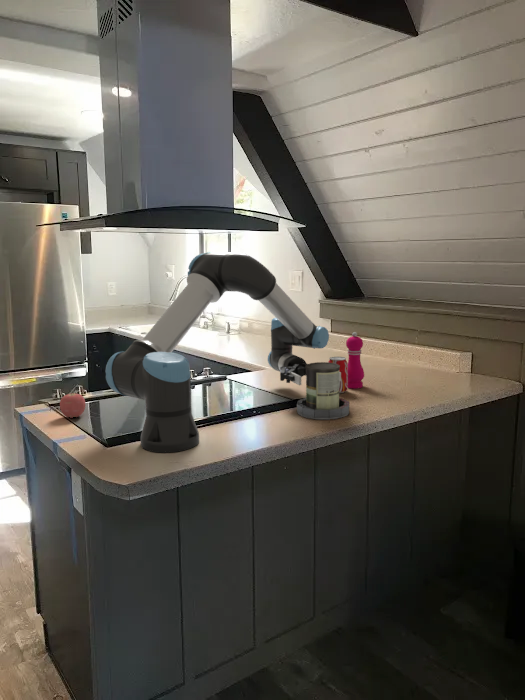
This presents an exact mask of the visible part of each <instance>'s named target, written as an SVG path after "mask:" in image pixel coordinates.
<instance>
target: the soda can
mask: <svg viewBox="0 0 525 700" xmlns="http://www.w3.org/2000/svg"><path fill="white" fill-rule="evenodd" d="M327 362H328V363H335V364H338V365H340V369H339V372H341V381H339V394H344V393H345V392H347V391H348V388H347V386H348V361H347V358H346V357H344V356H330V357H329V360H328V361H327Z"/></svg>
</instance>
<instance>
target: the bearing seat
mask: <svg viewBox="0 0 525 700" xmlns="http://www.w3.org/2000/svg"><path fill="white" fill-rule="evenodd" d="M296 413H297V415H299V416H301V417H303V418H305V419H310V420H315V421H316V420H319V421H331V420H330V419H333V420H338V418H340V419H343V418H345V416H346V417H347V416H349V414H350V401H349V400H347V399H345V398H341V397H339V408H331V409H316V408H311V407H306V397H304V398H301V399H298V400H297V403H296ZM342 417H343V418H342Z"/></svg>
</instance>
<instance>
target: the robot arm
mask: <svg viewBox="0 0 525 700" xmlns="http://www.w3.org/2000/svg"><path fill="white" fill-rule="evenodd" d="M187 270H188V271H187V277H186V283H187V285H186V286H185V287H184V289H182V290H181V292H180V293H179V295H178V296H176V298H175V299H174V301H172V303H171V304H170V305H169V307H168V308H167V309H166V310H165V311H164V313H163V314H162V315H161V316H160V317H159V319H158V320H157V321H156V322H155V324H154V325H153V326H152V327H151V328H150V329H149V331H148V332H147V333H146V335H145V336H144V337H143V338H142V339H138V340H136V339H135V340H134V341H133V342H132V343H131V344H130V345H129V347H128V348H127V349H126V350H125V351H123V350H121V351H118V352H115V353H114V354H112V356H110V358H109V359H108V361H107V363H106V365H105V381H106V383H107V385H108V387H110V389H111V390H112V391H113V392H115V393H117V394H119V395H122V396H124V397H131V398H135V399H139V400H144V401H145V419H144V423H143V427H142V430H141V434H140V447H141V448H142V449H143V450H146V451H149V452H154V453H175V452H181V451H185V450H186V451H187V450H189V449H191V448H194V447H196V446H197V445H198V444H199V443H200V433H199V430H198V427H197V425H196V422H195V419H194V416H193V414H192V388H191V387H192V385H191V384H192V382H191V379H192V378H191V374H192V373H191V370H190V361H189V360H188V358H187V357H185V356H184V355H183V354H179V353H176V352H173V351H174V350H175V349H176V347H177V346H178V345H179V343H180V342H181V341H182V340H183V338H184V337H185V335H186V334H187V333H188V332H189V330H190V329H191V328H192V327H193V325H195V323H196V322H197V320H198V319H199V318H200V317H201V316H202V314H203V312H204V311H205V310H206V308H207V307H208V306H209V304H211V303H214V304H215V303H217V302H219V301H220V298H221V297H222V296H223V295H224V294H225V292H238V293H243V294H245V295H247V296H249V297H250V299H252V300H254V301H258V302H260V303H261V305H262V306H264V307H265V308H266V309H267V310H268V311H269V313H271V314H272V315H273V316H274V318H272V319H271V324H270V327H271V328H270V337H271V338H270V340H271V341H270V345H271V348H270V349H271V350H270V352H269V353H268V355H267V363H268V365H269V366H270V367H271V368H272V369H273V370H275V371H278V372H279V374H280V375H279V377H280V378H279V379H280V382H281V381H282V382H283V381H286V384H290V383H291V382H292V383H294V384H296V385H298V386H302V378H303V377H304V376H305V377H306V365H307V364H308V363H307V362H306V360H305V359H304V358H302V357H300V356H298V355H296V354H293V347H294V346H295V347H302V348H311V349H324V348H325V347H326V346H327V345H328V343H329V340H330V339H329V338H330V334H329V330H328V329H327V328H326V327H325V326H320V325H316V324H315V323H314V322H313V321H312V320H311V318H309V317H308V316H307V315H306V313H305V312H303V310H302V309H301V308H300V306H298V305H297V303H295V302H294V301H293V300H292V298H291V297H290V296H289V295H288V294H287V293H286V292H285V291H284V290H283V288H281V287H280V286H279V285H278V283H277V278H276V277H275V275H274V274H273V273H272V272H271V271H270V270H269V268H268V267H266V266H265V265H263V264H262V262H260V261H258V260H257V259H256V258H254V257H252V256H250V255H248V254H246V253H243V252H239V251H238V252H237V251H234V252H228V251H227V252H225V251H224V252H223V251H222V252H221V251H220V252H219V251H217V252H215V251H207V252H203V253H200V254H198V255H196V256H194V257H193V258H192V259H191V262H190V263H189V265H188V269H187ZM339 381H341V372H339Z"/></svg>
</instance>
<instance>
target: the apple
mask: <svg viewBox="0 0 525 700" xmlns="http://www.w3.org/2000/svg"><path fill="white" fill-rule="evenodd" d="M59 410H60V412H61V413H62V414H63V415H64V416H65V417H66V418H69V417H70V418H71V419H74V418H73V417H76V418H78V417H80V416H81V415H82V414H84V412H85V410H86V399H85V398H84V396H83V395H82V394H79V393H73V392H71V393H67V394H66V395H63V396H62V397H61V398H60V401H59Z"/></svg>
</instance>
